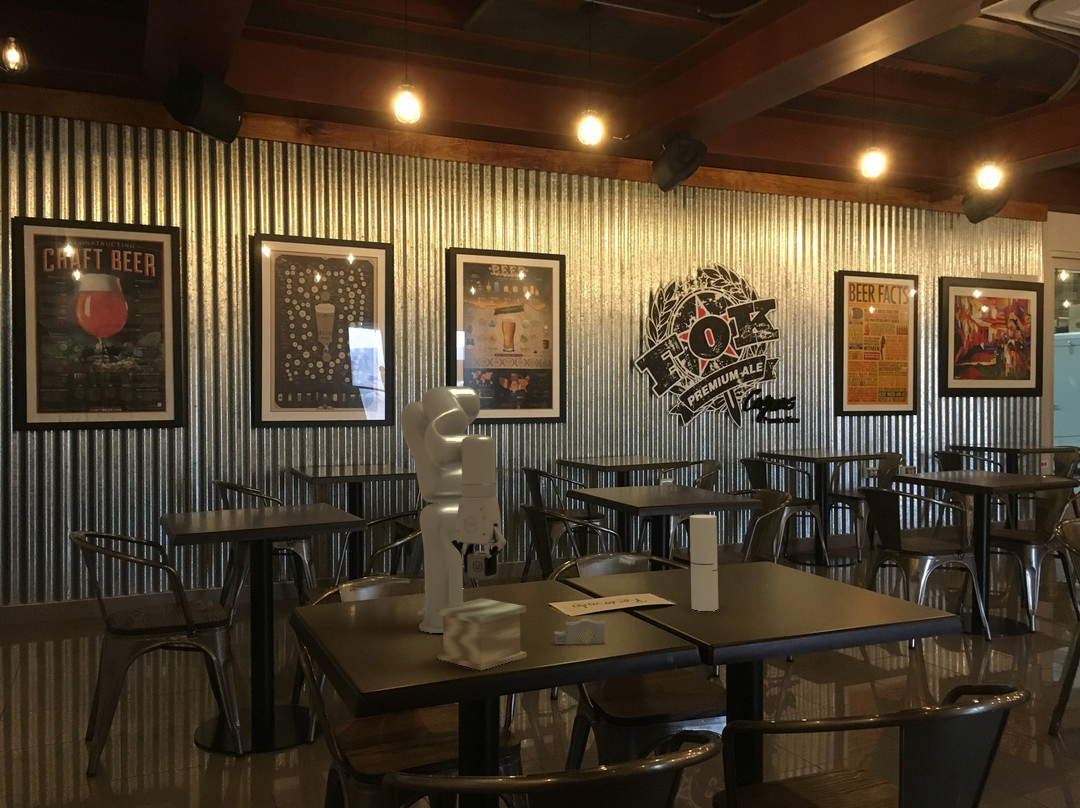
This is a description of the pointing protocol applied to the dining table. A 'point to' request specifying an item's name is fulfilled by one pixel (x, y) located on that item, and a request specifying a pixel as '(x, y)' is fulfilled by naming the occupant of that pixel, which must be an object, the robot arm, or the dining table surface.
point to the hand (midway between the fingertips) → (480, 572)
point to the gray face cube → (477, 565)
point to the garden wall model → (574, 629)
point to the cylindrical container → (704, 562)
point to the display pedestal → (481, 633)
